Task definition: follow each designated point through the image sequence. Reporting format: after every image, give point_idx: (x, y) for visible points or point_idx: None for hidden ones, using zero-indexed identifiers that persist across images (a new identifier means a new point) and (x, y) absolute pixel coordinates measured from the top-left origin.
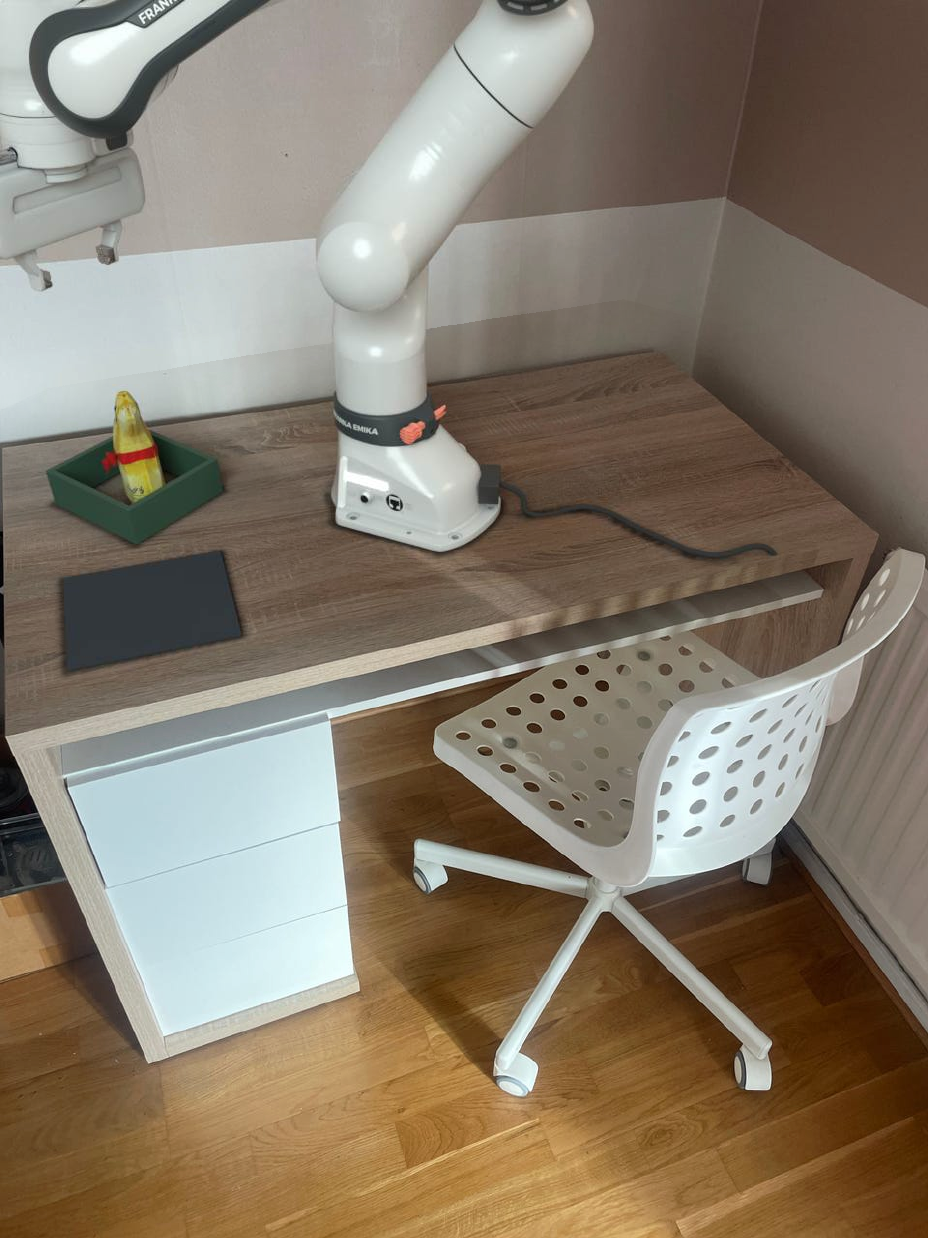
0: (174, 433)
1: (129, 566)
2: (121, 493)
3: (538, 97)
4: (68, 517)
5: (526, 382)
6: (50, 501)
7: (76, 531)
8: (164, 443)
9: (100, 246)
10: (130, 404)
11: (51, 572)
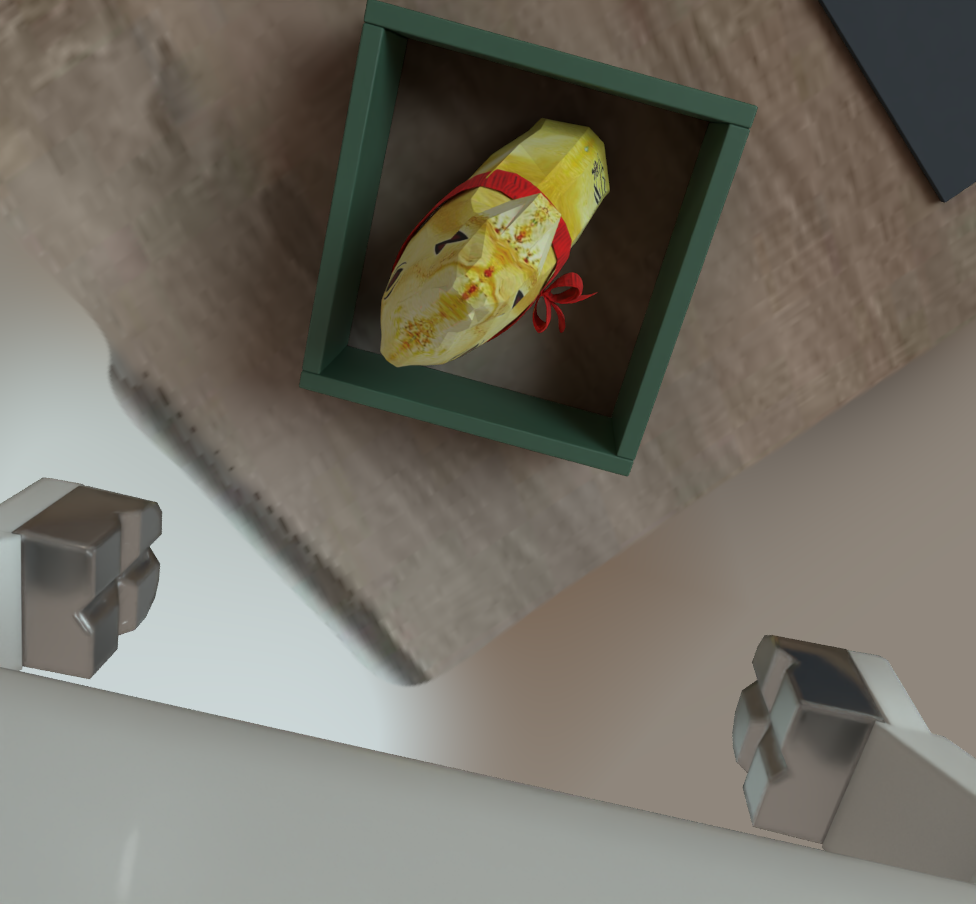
0: (188, 344)
1: (853, 50)
2: None
3: None
4: None
5: None
6: None
7: (718, 311)
8: (346, 249)
9: (59, 646)
10: (498, 238)
11: (910, 258)
